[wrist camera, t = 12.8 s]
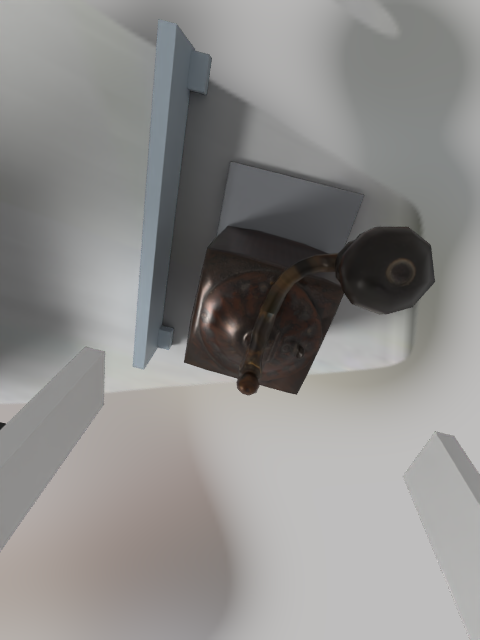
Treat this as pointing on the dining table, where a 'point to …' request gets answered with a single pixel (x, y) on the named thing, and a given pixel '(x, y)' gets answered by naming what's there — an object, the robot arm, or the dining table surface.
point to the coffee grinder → (294, 299)
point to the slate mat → (288, 207)
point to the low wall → (164, 179)
